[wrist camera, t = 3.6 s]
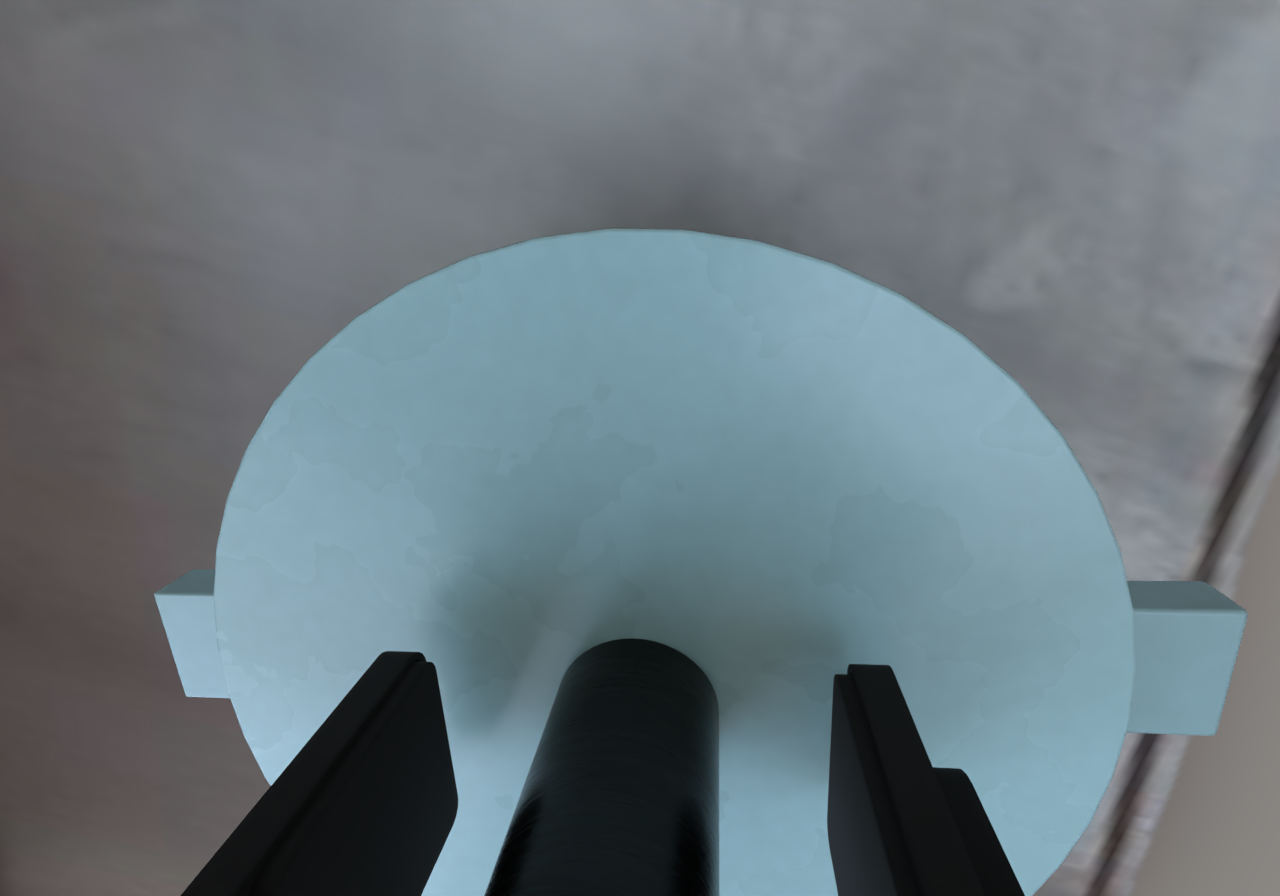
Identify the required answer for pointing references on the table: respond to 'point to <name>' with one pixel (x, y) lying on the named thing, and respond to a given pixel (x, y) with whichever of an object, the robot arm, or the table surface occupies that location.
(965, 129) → the table surface
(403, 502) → the pot lid
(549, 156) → the table surface
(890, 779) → the robot arm
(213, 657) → the pot
